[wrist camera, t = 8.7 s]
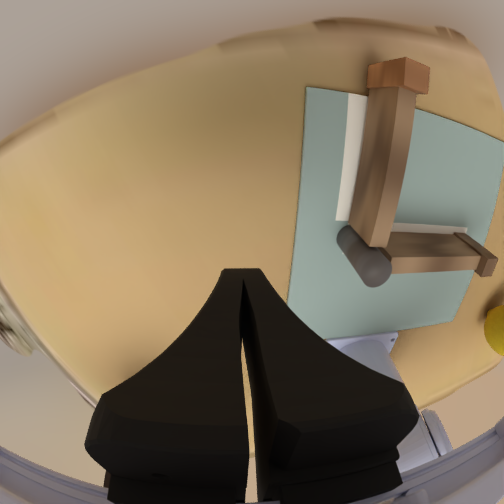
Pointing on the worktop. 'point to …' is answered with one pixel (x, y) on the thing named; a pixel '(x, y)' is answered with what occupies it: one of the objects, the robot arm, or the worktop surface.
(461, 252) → the fixed fence section
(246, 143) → the worktop surface
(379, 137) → the hinged fence panel
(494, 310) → the lemon
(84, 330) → the worktop surface
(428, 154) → the card
